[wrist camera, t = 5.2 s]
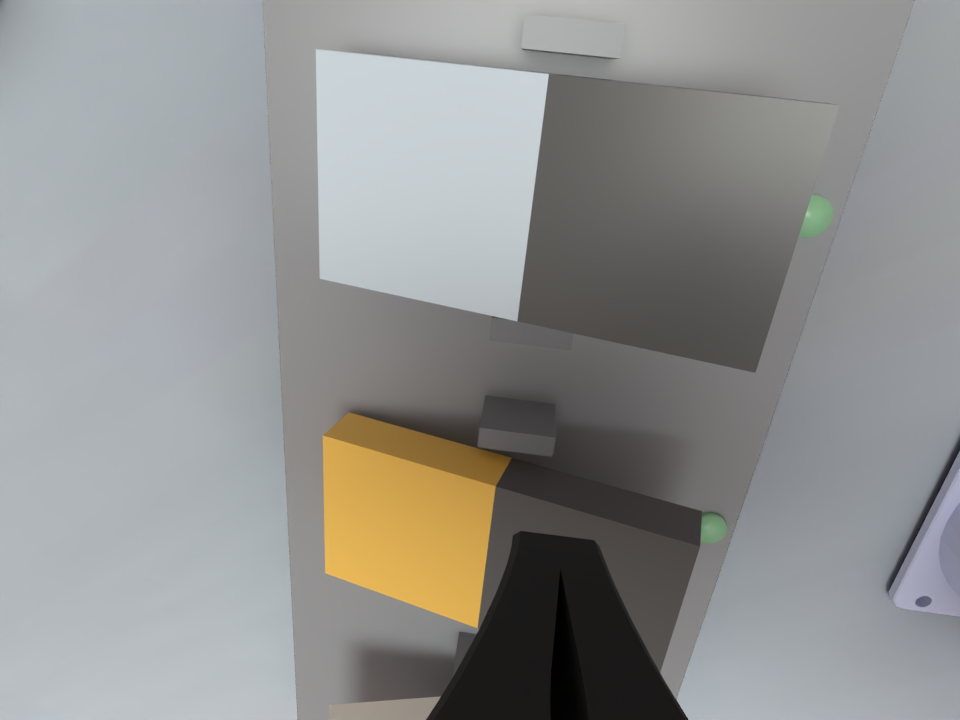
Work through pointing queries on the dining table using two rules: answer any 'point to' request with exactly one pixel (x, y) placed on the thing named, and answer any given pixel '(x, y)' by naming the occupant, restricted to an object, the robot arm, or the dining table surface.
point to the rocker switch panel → (525, 347)
